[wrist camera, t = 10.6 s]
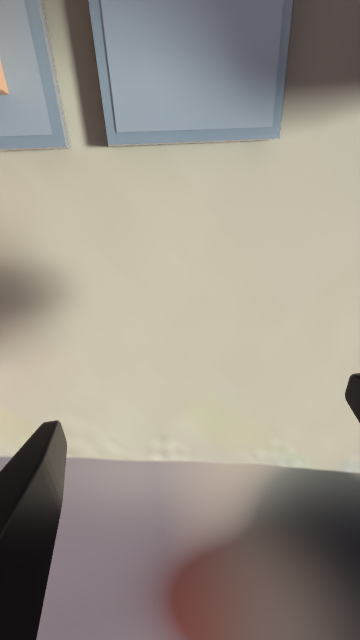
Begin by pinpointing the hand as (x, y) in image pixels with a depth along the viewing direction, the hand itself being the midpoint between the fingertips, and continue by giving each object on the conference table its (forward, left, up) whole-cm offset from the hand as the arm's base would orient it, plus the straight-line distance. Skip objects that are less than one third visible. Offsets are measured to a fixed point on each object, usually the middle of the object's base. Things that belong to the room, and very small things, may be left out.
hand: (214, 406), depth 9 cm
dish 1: (-2, -12, -12) cm, 17 cm away
